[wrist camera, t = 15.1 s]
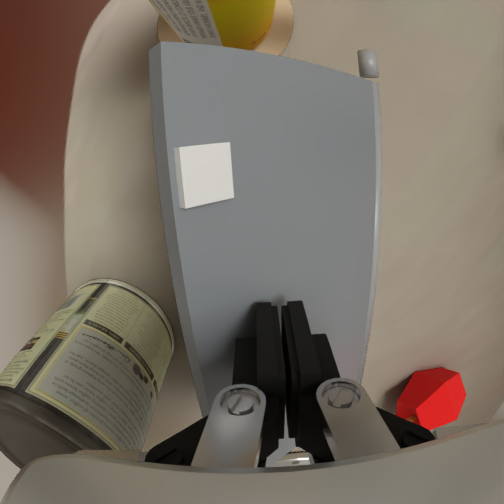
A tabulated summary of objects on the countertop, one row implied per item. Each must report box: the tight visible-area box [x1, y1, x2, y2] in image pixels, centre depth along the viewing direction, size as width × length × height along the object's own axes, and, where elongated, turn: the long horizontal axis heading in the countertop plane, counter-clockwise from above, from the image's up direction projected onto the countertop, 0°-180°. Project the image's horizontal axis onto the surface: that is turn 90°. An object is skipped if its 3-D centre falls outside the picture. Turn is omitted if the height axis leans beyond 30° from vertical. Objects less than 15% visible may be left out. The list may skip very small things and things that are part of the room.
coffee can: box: [0, 279, 174, 469], centre depth 18 cm, size 10×10×14 cm
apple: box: [396, 367, 466, 430], centre depth 24 cm, size 7×7×8 cm
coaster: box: [157, 0, 294, 56], centre depth 16 cm, size 9×9×1 cm
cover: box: [149, 41, 382, 467], centre depth 14 cm, size 20×12×1 cm
